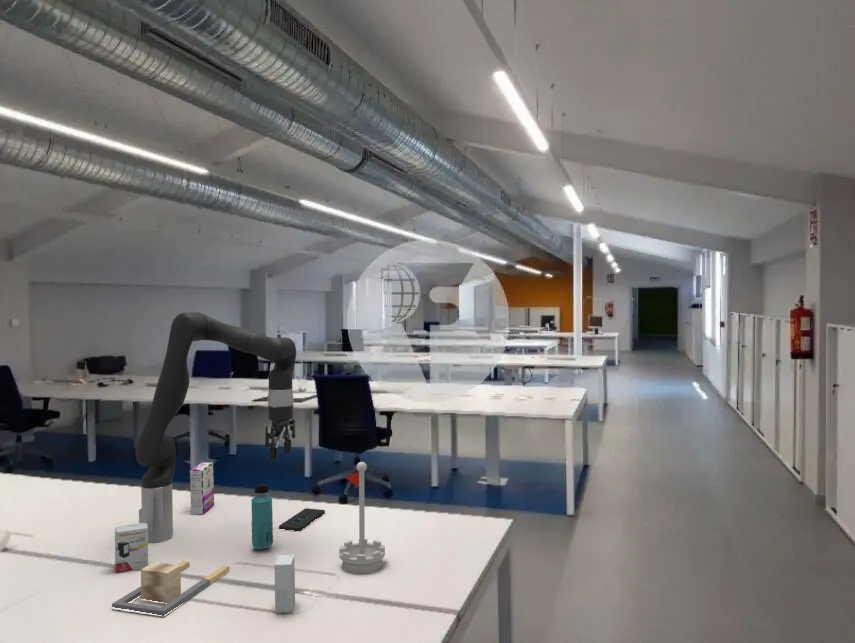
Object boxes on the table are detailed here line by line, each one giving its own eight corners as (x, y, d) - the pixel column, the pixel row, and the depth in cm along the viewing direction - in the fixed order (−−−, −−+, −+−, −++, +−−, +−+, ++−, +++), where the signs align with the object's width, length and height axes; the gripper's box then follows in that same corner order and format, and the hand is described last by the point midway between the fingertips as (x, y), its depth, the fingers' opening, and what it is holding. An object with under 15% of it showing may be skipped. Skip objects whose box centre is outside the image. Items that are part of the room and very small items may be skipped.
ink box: (115, 573, 177) (114, 531, 177) (114, 567, 181) (114, 526, 181) (148, 567, 181) (148, 527, 181) (147, 561, 185) (147, 521, 185)
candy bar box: (201, 505, 238) (200, 462, 238) (214, 505, 238) (214, 462, 238) (189, 515, 227) (189, 469, 226) (203, 515, 227) (203, 469, 226)
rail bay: (111, 609, 156) (111, 603, 156) (183, 565, 182) (183, 560, 182) (163, 617, 152) (163, 611, 152) (229, 571, 178) (229, 566, 178)
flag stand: (391, 559, 186) (391, 458, 186) (373, 577, 174) (373, 469, 173) (351, 554, 191) (351, 455, 190) (331, 571, 178) (330, 465, 178)
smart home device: (277, 525, 212) (305, 507, 231) (277, 530, 212) (305, 512, 231) (299, 528, 210) (325, 509, 229) (299, 533, 210) (326, 514, 229)
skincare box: (278, 601, 160) (277, 554, 159) (295, 601, 160) (295, 554, 160) (274, 613, 154) (274, 564, 153) (292, 612, 154) (291, 564, 154)
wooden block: (141, 600, 160) (140, 569, 160) (154, 592, 165) (154, 562, 165) (167, 604, 158) (167, 573, 158) (180, 596, 163) (180, 565, 163)
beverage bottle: (267, 554, 190) (267, 488, 190) (247, 552, 192) (246, 487, 191) (277, 546, 197) (276, 482, 196) (257, 544, 198) (256, 481, 198)
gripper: (280, 399, 199) (281, 451, 199) (257, 406, 185) (257, 461, 186) (302, 400, 197) (302, 452, 197) (280, 407, 183) (280, 463, 184)
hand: (280, 456), depth 192 cm, fingers open, 8 cm apart
